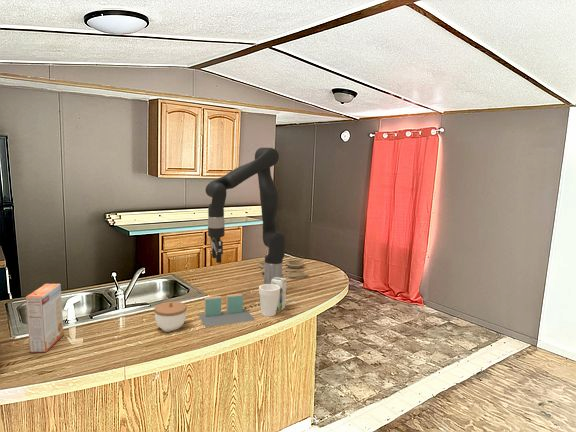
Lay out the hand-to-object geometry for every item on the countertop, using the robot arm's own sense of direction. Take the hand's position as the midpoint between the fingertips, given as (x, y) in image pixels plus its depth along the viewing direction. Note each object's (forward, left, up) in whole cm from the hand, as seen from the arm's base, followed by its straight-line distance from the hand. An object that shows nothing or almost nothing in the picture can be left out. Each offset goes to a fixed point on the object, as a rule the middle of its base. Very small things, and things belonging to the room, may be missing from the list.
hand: (216, 260), depth 189 cm
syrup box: (-27, +12, -22) cm, 37 cm away
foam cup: (-20, +18, -22) cm, 35 cm away
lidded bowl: (+23, +18, -22) cm, 37 cm away
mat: (-1, +16, -22) cm, 27 cm away
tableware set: (-54, -45, -23) cm, 74 cm away
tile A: (-6, +12, -22) cm, 25 cm away
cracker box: (+67, +17, -22) cm, 73 cm away
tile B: (+4, +12, -22) cm, 25 cm away
